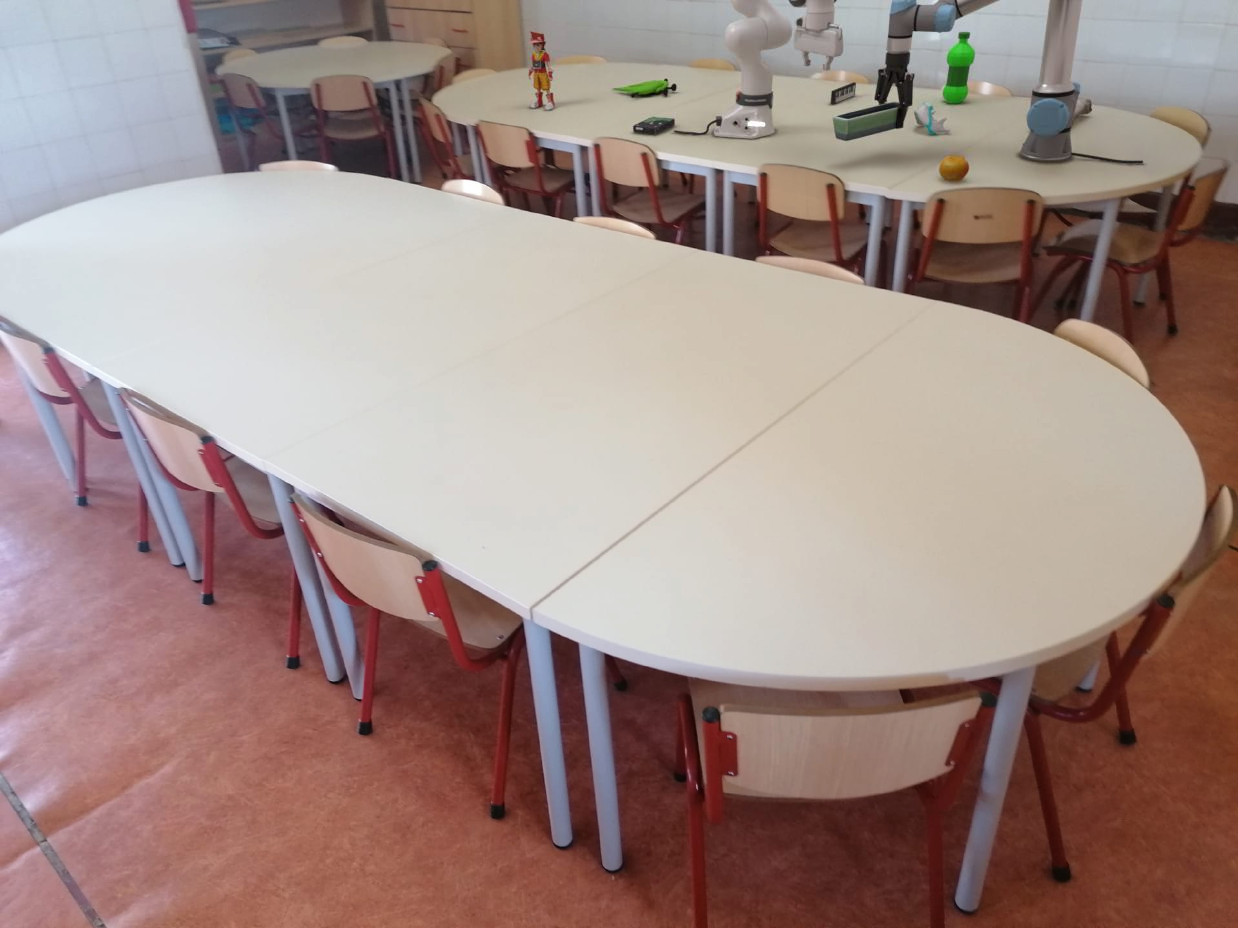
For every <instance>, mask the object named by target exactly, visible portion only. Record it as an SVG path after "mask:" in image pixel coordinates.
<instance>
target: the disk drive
mask: <svg viewBox="0 0 1238 928" xmlns="http://www.w3.org/2000/svg"><path fill="white" fill-rule="evenodd" d="M675 125H676V120H675V118H671V117H659V116H650V117H648V118H646V119H644V120H642V121H640V122H638V123H635V124H634V125H632V132H633V133H637V134H643V135H644V134H645V135H654V136H655V135H659V134H660V133H663V132H665V131H666V130H668V129H670V128H672V127H674V126H675Z"/></svg>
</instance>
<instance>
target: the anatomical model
mask: <svg viewBox="0 0 1238 928" xmlns="http://www.w3.org/2000/svg"><path fill="white" fill-rule="evenodd" d="M935 113H936V110H934V107H933V105H930V103H929V102H926V101H924V102H923V104H922V106H920V107H919V108H916V109H914V111H913V115H914V119H915V121H916V124H917V125H918V126H924V127H925V128H926V130H927V132H928V133H929V134H930V135H937V134H939V133H950V132H951V128H946V127H945V126H944V123H945V122H946V121H947V120H948V118H947V117H942V118H940V119H939V120H938V119H935V118H934V117H933V115H934V114H935Z"/></svg>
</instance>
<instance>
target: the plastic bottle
mask: <svg viewBox="0 0 1238 928" xmlns="http://www.w3.org/2000/svg"><path fill="white" fill-rule="evenodd" d="M970 36H971V32H970V31H959V32H958V36H957V39H958V42H957V43H956V44H954V45H953V46H952V47H951V48H950V49H949V50H948V52H947V54H946V63H947V64H948V69H947V70H948V71H947V76H946V77H947V78H946V84H945V85H944V87H943V90H942V97H943V99H944V100H945V101H946V102H947V103H948V104H960V103H961V102H963V101H964V100H966V98H967V96H968V95H969V85H968V79H969V73H970V67H971V65H972V64H973V63H974V61H975V57H976V51H975V49H974V47H972V45H971V44H970V43H969V42H968V41H969V39H970V38H971V37H970Z"/></svg>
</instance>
